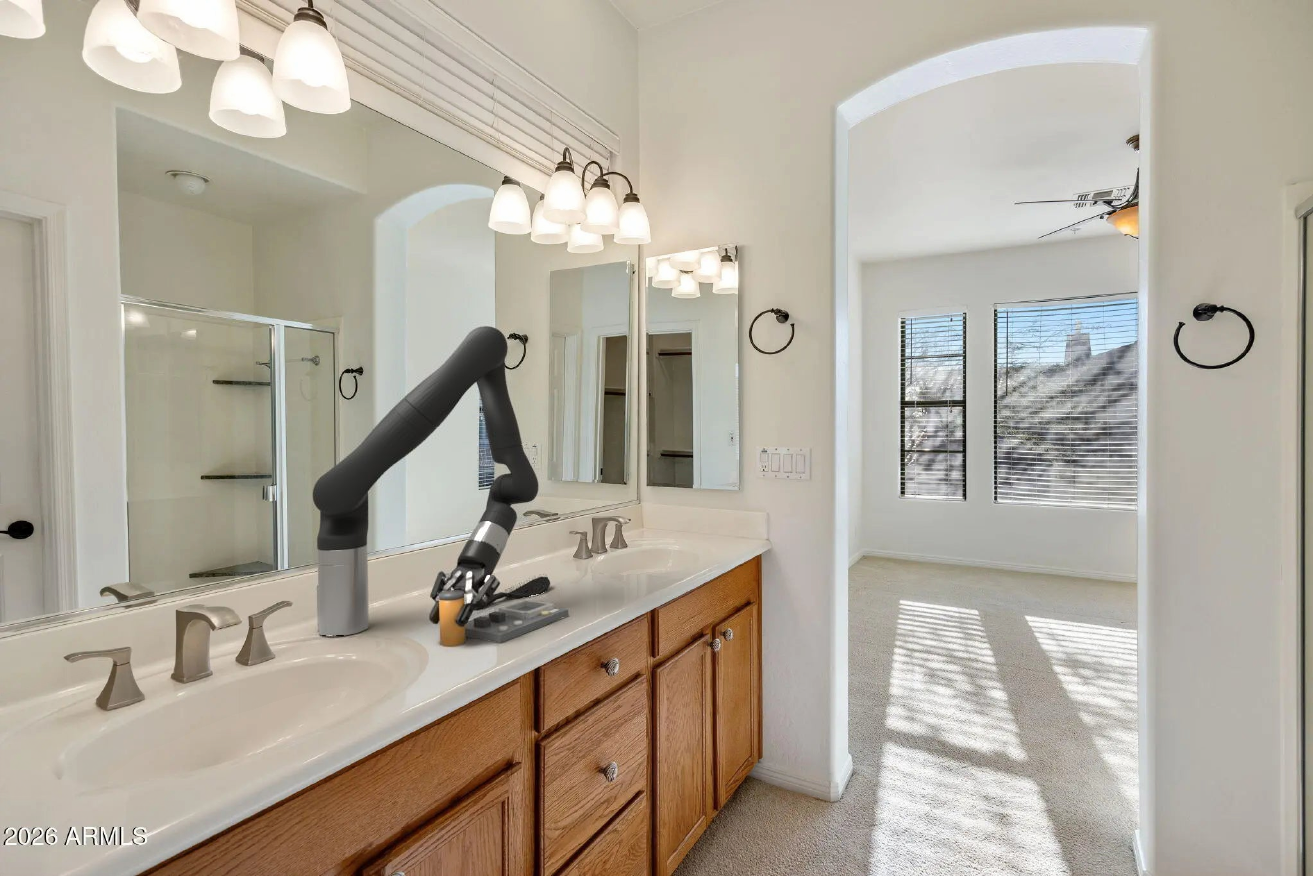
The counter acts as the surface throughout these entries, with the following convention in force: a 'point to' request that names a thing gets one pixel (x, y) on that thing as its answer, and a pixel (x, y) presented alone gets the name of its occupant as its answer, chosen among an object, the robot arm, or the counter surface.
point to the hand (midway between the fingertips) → (446, 623)
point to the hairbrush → (523, 590)
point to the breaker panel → (513, 620)
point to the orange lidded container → (451, 618)
